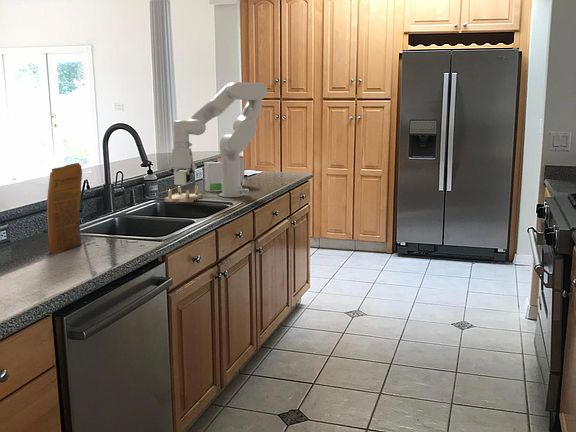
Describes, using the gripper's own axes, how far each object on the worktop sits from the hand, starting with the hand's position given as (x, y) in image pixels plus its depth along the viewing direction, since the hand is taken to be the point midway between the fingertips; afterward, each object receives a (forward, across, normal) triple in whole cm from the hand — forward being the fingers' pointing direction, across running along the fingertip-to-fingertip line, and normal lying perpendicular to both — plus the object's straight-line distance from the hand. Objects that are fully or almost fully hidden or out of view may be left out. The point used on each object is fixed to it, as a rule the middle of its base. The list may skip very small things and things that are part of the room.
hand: (182, 181), depth 309 cm
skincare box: (+9, -7, -30) cm, 32 cm away
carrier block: (+1, 0, 0) cm, 1 cm away
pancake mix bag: (+10, +5, +106) cm, 106 cm away
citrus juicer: (+8, -12, -50) cm, 52 cm away
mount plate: (+9, 0, 0) cm, 9 cm away
